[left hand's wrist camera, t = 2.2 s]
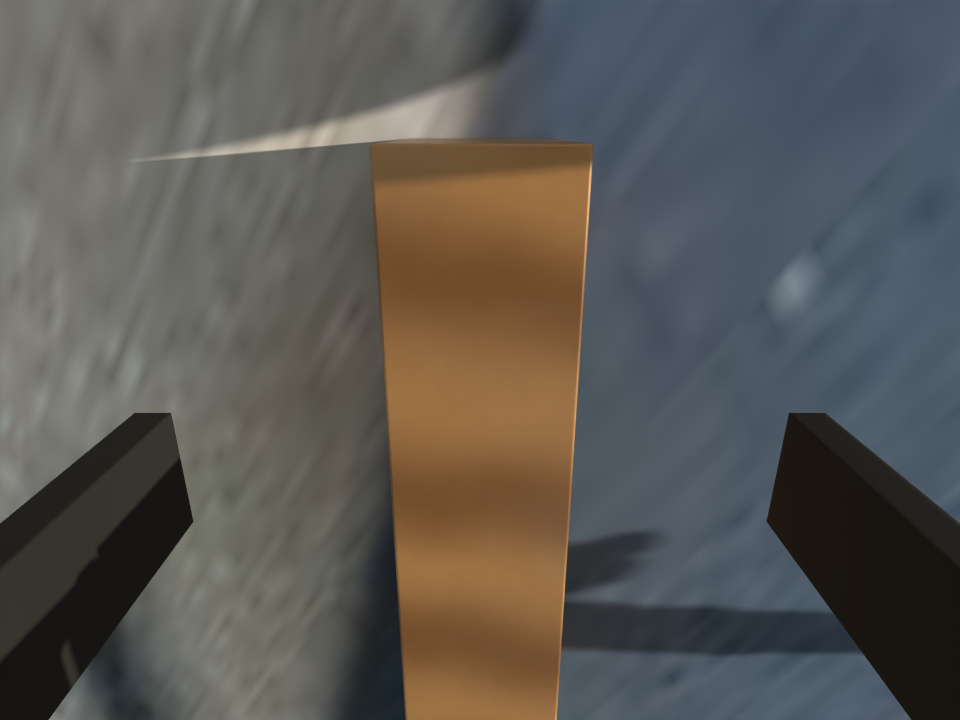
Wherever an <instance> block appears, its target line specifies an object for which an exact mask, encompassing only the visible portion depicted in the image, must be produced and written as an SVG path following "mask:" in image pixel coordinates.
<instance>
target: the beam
mask: <svg viewBox="0 0 960 720" xmlns="http://www.w3.org/2000/svg"><path fill="white" fill-rule="evenodd" d="M370 159H371V175H372V191H373V207H374V223H375V239H376V255H377V271H378V287H379V303H380V319H381V335H382V351H383V367H384V383H385V399H386V415H387V431H388V447H389V463H390V478H391V494H392V510H393V526H394V542H395V558H396V574H397V590H398V606H399V622H400V638H401V654H402V670H403V686H404V702H405V718H406V720H556V718H557V703H558V687H559V672H560V656H561V641H562V625H563V610H564V594H565V579H566V563H567V547H568V532H569V516H570V501H571V485H572V470H573V454H574V439H575V423H576V408H577V392H578V376H579V361H580V345H581V330H582V314H583V299H584V283H585V268H586V252H587V237H588V221H589V206H590V190H591V174H592V159H593V145H592V144H590V143H583V142H575V141H567V140H559V139H551V138H411V139H403V140H395V141H388V142H380V143H373V144H371V145H370Z"/></svg>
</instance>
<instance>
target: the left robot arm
mask: <svg viewBox="0 0 960 720" xmlns="http://www.w3.org/2000/svg"><path fill="white" fill-rule="evenodd" d="M192 523H193V518H192V513H191V508H190V503H189V498H188V493H187V489H186V484H185V479H184V474H183V469H182V464H181V460H180V455H179V450H178V445H177V440H176V435H175V431H174V426H173V421H172V416H171V413H134V414H133V415H132V416H131V417H129V418H128V419H127V420H126V421H125V422H123V423H122V424H121V425H120V426H118V427H117V428H116V429H115V430H114V431H112V432H111V433H110V434H109V435H108V436H106V437H105V438H104V439H103V440H101V441H100V442H99V443H98V444H97V445H95V446H94V447H93V448H92V449H90V450H89V451H88V452H87V453H86V454H84V455H83V456H82V457H81V458H80V459H78V460H77V461H76V462H75V463H73V464H72V465H71V466H70V467H69V468H67V469H66V470H65V471H64V472H62V473H61V474H60V475H59V476H58V477H56V478H55V479H54V480H53V481H52V482H50V483H49V484H48V485H47V486H45V487H44V488H43V489H42V490H41V491H39V492H38V493H37V494H36V495H34V496H33V497H32V498H31V499H30V500H28V501H27V502H26V503H25V504H24V505H22V506H21V507H20V508H19V509H17V510H16V511H15V512H14V513H13V514H11V515H10V516H9V517H8V518H6V519H5V520H4V521H3V522H2V523H0V720H49V718H50V717H51V716H52V714H53V713H54V711H55V710H56V709H57V707H58V706H59V705H60V703H61V702H62V701H63V699H64V698H65V696H66V695H67V694H68V692H69V691H70V690H71V688H72V687H73V685H74V684H75V683H76V681H77V680H78V679H79V677H80V676H81V675H82V673H83V672H84V670H85V669H86V668H87V666H88V665H89V664H90V662H91V661H92V659H93V658H94V657H95V655H96V654H97V653H98V651H99V650H100V649H101V647H102V646H103V644H104V643H105V642H106V640H107V639H108V638H109V636H110V635H111V633H112V632H113V631H114V629H115V628H116V627H117V625H118V624H119V623H120V621H121V620H122V618H123V617H124V616H125V614H126V613H127V612H128V610H129V609H130V608H131V606H132V605H133V603H134V602H135V601H136V599H137V598H138V597H139V595H140V594H141V592H142V591H143V590H144V588H145V587H146V586H147V584H148V583H149V582H150V580H151V579H152V577H153V576H154V575H155V573H156V572H157V571H158V569H159V568H160V566H161V565H162V564H163V562H164V561H165V560H166V558H167V557H168V556H169V554H170V553H171V551H172V550H173V549H174V547H175V546H176V545H177V543H178V542H179V541H180V539H181V538H182V536H183V535H184V534H185V532H186V531H187V530H188V528H189V527H190V525H191V524H192ZM767 523H768V524H769V525H770V527H771V528H772V530H773V531H774V532H775V534H776V535H777V536H778V538H779V539H780V541H781V542H782V543H783V545H784V546H785V547H786V549H787V550H788V551H789V553H790V554H791V556H792V557H793V558H794V560H795V561H796V562H797V564H798V565H799V566H800V568H801V569H802V571H803V572H804V573H805V575H806V576H807V577H808V579H809V580H810V582H811V583H812V584H813V586H814V587H815V588H816V590H817V591H818V592H819V594H820V595H821V597H822V598H823V599H824V601H825V602H826V603H827V605H828V606H829V608H830V609H831V610H832V612H833V613H834V614H835V616H836V617H837V618H838V620H839V621H840V623H841V624H842V625H843V627H844V628H845V629H846V631H847V632H848V634H849V635H850V636H851V638H852V639H853V640H854V642H855V643H856V644H857V646H858V647H859V649H860V650H861V651H862V653H863V654H864V655H865V657H866V658H867V659H868V661H869V662H870V664H871V665H872V666H873V668H874V669H875V670H876V672H877V673H878V675H879V676H880V677H881V679H882V680H883V681H884V683H885V684H886V685H887V687H888V688H889V690H890V691H891V692H892V694H893V695H894V696H895V698H896V699H897V701H898V702H899V703H900V705H901V706H902V707H903V709H904V710H905V711H906V713H907V714H908V716H909V717H910V718H911V720H960V523H958V522H957V521H956V520H955V519H954V518H952V517H951V516H950V515H949V514H947V513H946V512H945V511H944V510H943V509H941V508H940V507H939V506H938V505H936V504H935V503H934V502H933V501H932V500H930V499H929V498H928V497H927V496H926V495H924V494H923V493H922V492H921V491H919V490H918V489H917V488H916V487H915V486H913V485H912V484H911V483H910V482H908V481H907V480H906V479H905V478H904V477H902V476H901V475H900V474H899V473H898V472H896V471H895V470H894V469H893V468H891V467H890V466H889V465H888V464H887V463H885V462H884V461H883V460H882V459H880V458H879V457H878V456H877V455H876V454H874V453H873V452H872V451H871V450H870V449H868V448H867V447H866V446H865V445H863V444H862V443H861V442H860V441H859V440H857V439H856V438H855V437H854V436H852V435H851V434H850V433H849V432H848V431H846V430H845V429H844V428H843V427H842V426H840V425H839V424H838V423H837V422H835V421H834V420H833V419H832V418H831V417H829V416H828V415H827V414H826V413H789V416H788V421H787V426H786V431H785V435H784V440H783V445H782V450H781V455H780V460H779V464H778V469H777V474H776V479H775V484H774V489H773V493H772V498H771V503H770V508H769V513H768V518H767Z"/></svg>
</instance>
